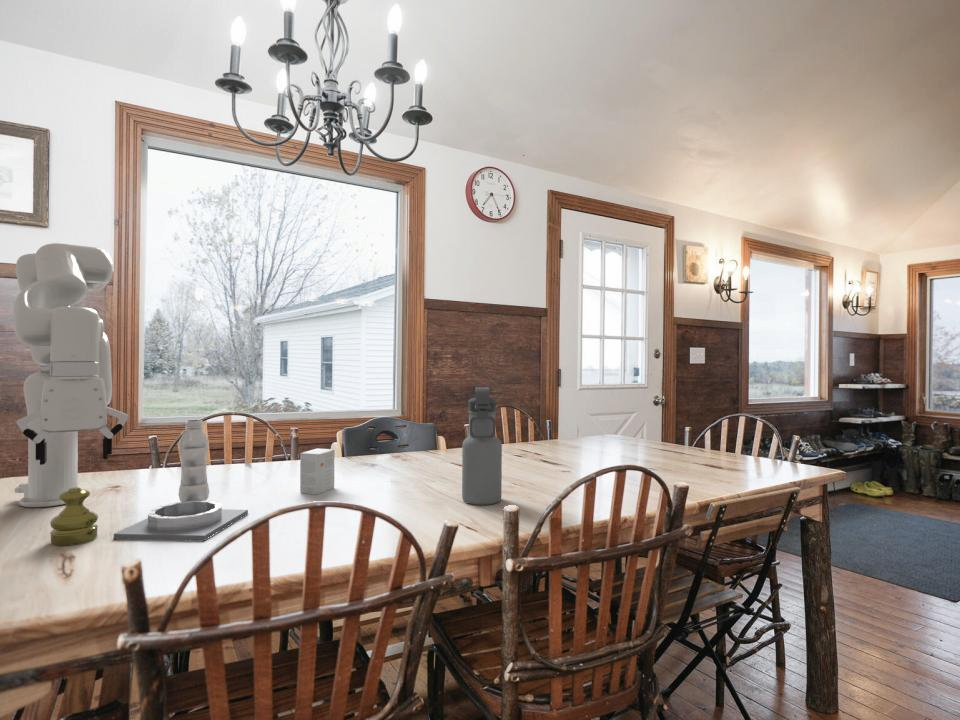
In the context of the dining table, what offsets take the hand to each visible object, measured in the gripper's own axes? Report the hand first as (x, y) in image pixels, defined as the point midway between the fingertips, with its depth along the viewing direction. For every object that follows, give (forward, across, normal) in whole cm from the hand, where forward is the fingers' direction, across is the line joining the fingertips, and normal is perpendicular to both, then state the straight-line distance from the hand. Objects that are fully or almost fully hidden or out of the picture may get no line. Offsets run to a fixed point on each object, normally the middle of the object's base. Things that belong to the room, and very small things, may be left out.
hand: (75, 461), depth 106 cm
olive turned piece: (+16, 0, +1) cm, 16 cm away
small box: (+15, +51, +16) cm, 56 cm away
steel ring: (+15, +19, 0) cm, 24 cm away
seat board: (+15, +19, 0) cm, 24 cm away
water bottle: (+16, +82, -16) cm, 85 cm away
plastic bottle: (+15, +22, +18) cm, 32 cm away
